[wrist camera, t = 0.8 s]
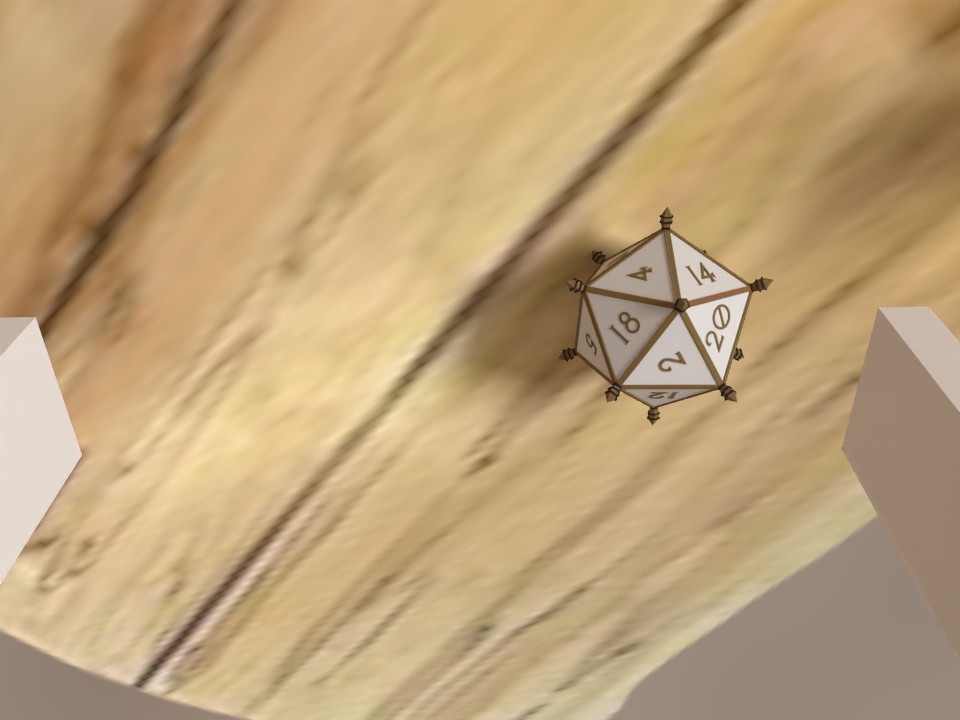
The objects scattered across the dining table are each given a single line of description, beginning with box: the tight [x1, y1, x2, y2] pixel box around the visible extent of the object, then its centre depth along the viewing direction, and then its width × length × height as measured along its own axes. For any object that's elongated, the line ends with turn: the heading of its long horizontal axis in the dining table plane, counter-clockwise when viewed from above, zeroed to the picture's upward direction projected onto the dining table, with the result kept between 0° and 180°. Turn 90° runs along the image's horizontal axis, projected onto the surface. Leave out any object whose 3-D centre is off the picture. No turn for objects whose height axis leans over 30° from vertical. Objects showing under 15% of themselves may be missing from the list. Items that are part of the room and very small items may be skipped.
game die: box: [559, 207, 773, 425], centre depth 38 cm, size 9×8×10 cm
